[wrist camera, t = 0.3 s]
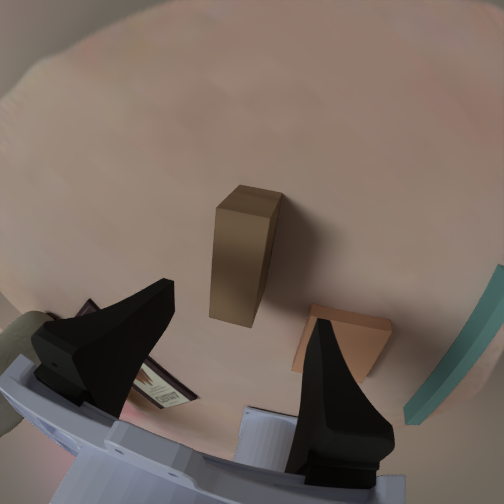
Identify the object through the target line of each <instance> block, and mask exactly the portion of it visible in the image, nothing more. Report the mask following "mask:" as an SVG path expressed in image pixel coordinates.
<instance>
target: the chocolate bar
mask: <svg viewBox="0 0 504 504" xmlns="http://www.w3.org/2000/svg"><path fill="white" fill-rule="evenodd" d="M98 310H101V309H100V308H99V307H98V306H97V305H96V304H95V303H94V302H93V301H92V300H91V299H89V300H88V301H87V302H86V303H85V304H84V306H83V307H82V308H81V310H80V311H79V312H78V313H77V315H76V316H75V317H78V316H82V315H85V314H89V313H92V312H95V311H98ZM132 387H133V388H134V389H136V390H137V391H138V392H139V393H141V394H142V395H143V396H144V397H146V398H147V399H148V400H149V401H151V402H152V403H153V404H155V405H156V406H157V407H159V408H160V409H162V408H166V407H170V406H174V405H177V404H181V403H185V402H188V401H192V400H195V399H196V398H197V395H196V394H194V393H193V392H192V391H190V390H189V389H188V388H187V387H185V386H184V385H183V384H182V383H180V382H179V381H178V380H177V379H175V378H174V377H173V376H172V375H171V374H169V373H168V372H167V371H166V370H165V369H163V368H162V367H161V366H160V365H159V364H157V363H156V362H155V361H154V360H153V359H152V358H151V357H149V356H147V358H146V359H145V361H144V363H143V364H142V366H141V368H140V370H139V372H138V374H137V376H136V378H135V380H134V383H133V385H132Z"/></svg>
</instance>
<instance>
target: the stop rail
mask: <svg viewBox="0 0 504 504" xmlns="http://www.w3.org/2000/svg"><path fill="white" fill-rule="evenodd" d="M503 322H504V266H502V265H499V264H498V266H497V268H496V270H495V272H494V274H493V276H492V278H491V280H490V282H489V284H488V286H487V288H486V290H485V292H484V294H483V296H482V297H481V299H480V301H479V303H478V305H477V306H476V308H475V310H474V311H473V313H472V315H471V317H470V318H469V320H468V322H467V323H466V325H465V326H464V328H463V330H462V331H461V333H460V334H459V336H458V337H457V339H456V340H455V342H454V343H453V345H452V346H451V348H450V349H449V351H448V352H447V353H446V355H445V356H444V358H443V359H442V360H441V362H440V363H439V365H438V366H437V367H436V369H435V370H434V371H433V373H432V374H431V375H430V376H429V378H428V379H427V380H426V382H425V383H424V384H423V385H422V386H421V388H420V389H419V390H418V391H417V393H416V394H415V395H414V396H413V397H412V398H411V400H410V401H409V402H408V403H407V404H406V405H405V406H404V417H405V425H420V424H421V423H422V422H423V421H424V420H425V419H426V418H427V417H428V416H429V415H430V414H431V413H432V412H433V411H434V410H435V409H436V408H437V407H438V406H439V405H440V404H441V402H442V401H443V400H444V399H445V398H446V397H447V396H448V395H449V394H450V393H451V391H452V390H453V389H454V388H455V387H456V386H457V385H458V383H459V382H460V381H461V380H462V379H463V377H464V376H465V375H466V374H467V372H468V371H469V370H470V369H471V367H472V366H473V365H474V364H475V362H476V361H477V360H478V358H479V357H480V356H481V354H482V353H483V352H484V350H485V349H486V347H487V346H488V345H489V343H490V342H491V340H492V339H493V337H494V336H495V334H496V333H497V331H498V330H499V328H500V327H501V325H502V324H503Z"/></svg>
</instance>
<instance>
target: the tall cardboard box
mask: <svg viewBox="0 0 504 504" xmlns="http://www.w3.org/2000/svg"><path fill="white" fill-rule="evenodd" d="M281 197H282V193H280V192H275V191H270V190H265V189H260V188H255V187H249V186H244V185H239V186H238V187H237V188H236V189H235V190H234V191H233V192H232V193H231V194H230V195H229V196H228V197H227V198H226V199H224V200H223V201H222V202H221V203H220V204H219V205H218V206H217V207H216V216H215V229H214V242H213V257H212V272H211V289H210V308H209V317H210V318H214V319H218V320H221V321H225V322H229V323H232V324H236V325H240V326H244V327H248V328H252V325H253V322H254V319H255V316H256V313H257V310H258V307H259V304H260V301H261V298H262V295H263V292H264V289H265V285H266V280H267V275H268V269H269V264H270V258H271V253H272V247H273V242H274V236H275V231H276V225H277V220H278V214H279V208H280V202H281Z"/></svg>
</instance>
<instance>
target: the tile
mask: <svg viewBox="0 0 504 504" xmlns="http://www.w3.org/2000/svg"><path fill="white" fill-rule="evenodd" d="M317 318H322V319H327V320H330V321H331V323H332V327H333V330H334V333H335V336H336V339H337V342H338V345H339V347H340V350H341V352H342V355H343V357H344V359H345V362H346V364H347V366H348V368H349V370H350V372H351V374H352V376H353V377H354V379H355V381H356V383H362V382H363V380H364V379H365V377H366V376H367V374H368V372H369V371H370V369H371V368H372V366H373V364H374V363H375V361H376V360H377V358H378V356H379V354H380V353H381V351H382V349H383V348H384V346H385V344H386V342H387V341H388V339H389V337H390V335H391V334H392V328H391V323H390V320H388V319H383V318H378V317H373V316H368V315H363V314H358V313H353V312H348V311H343V310H339V309H334V308H329V307H324V306H320V305H315V304H312V305H311V308H310V311H309V314H308V318H307V321H306V324H305V327H304V330H303V333H302V336H301V339H300V342H299V344H298V347H297V350H296V353H295V356H294V359H293V364H292V370H291V371H296V372H300V373H303V364H304V358H305V353H306V347H307V344H308V342H309V339H310V337H311V334H312V331H313V329H314V326H315V323H316V320H317Z"/></svg>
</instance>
